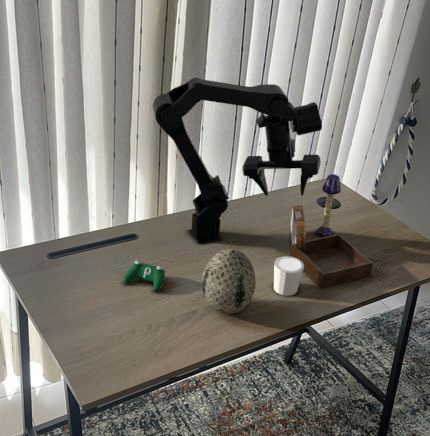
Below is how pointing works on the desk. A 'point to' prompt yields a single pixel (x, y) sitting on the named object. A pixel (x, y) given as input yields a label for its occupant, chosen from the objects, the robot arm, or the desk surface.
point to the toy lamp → (329, 203)
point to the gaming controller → (145, 274)
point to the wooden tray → (332, 260)
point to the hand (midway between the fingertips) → (284, 194)
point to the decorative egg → (228, 281)
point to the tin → (298, 227)
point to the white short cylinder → (287, 275)
